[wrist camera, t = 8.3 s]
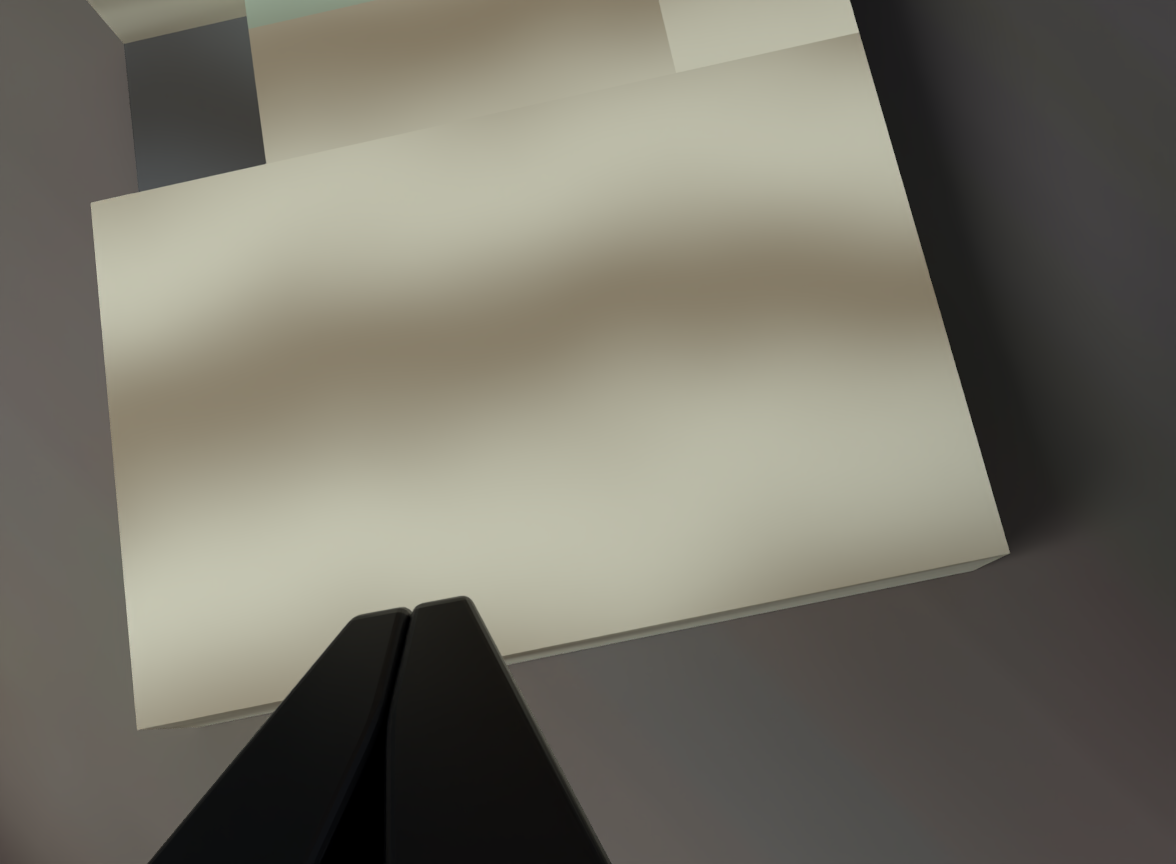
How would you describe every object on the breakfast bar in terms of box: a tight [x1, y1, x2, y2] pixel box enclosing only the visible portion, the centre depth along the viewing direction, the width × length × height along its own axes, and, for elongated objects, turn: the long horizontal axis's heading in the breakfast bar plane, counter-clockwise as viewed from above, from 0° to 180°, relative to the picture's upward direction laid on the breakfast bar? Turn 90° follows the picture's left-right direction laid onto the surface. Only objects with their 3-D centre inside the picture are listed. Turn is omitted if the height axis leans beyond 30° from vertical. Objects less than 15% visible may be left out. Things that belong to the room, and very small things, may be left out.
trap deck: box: [87, 0, 1010, 730], centre depth 23 cm, size 22×15×2 cm
